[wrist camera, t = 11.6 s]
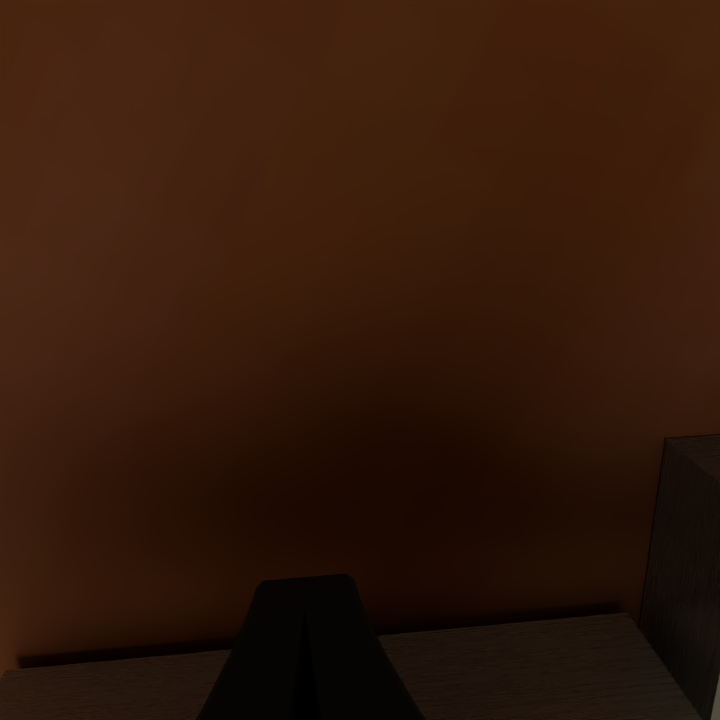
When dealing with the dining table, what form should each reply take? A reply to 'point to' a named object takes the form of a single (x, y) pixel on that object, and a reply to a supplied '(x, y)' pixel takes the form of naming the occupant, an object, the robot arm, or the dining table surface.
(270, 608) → the robot arm
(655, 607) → the vise body
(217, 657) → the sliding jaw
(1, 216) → the dining table surface
